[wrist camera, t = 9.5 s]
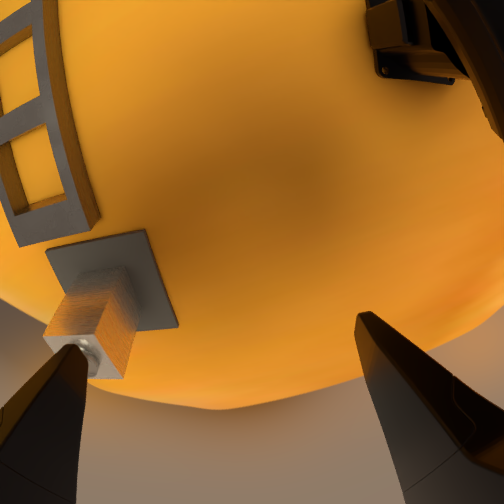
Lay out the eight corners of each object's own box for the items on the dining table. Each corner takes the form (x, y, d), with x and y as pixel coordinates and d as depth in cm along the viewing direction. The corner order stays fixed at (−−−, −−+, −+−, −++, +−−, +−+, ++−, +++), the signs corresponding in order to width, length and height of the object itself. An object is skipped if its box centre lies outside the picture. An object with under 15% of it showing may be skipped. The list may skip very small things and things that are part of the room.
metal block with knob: (124, 265, 21) (90, 342, 14) (142, 308, 23) (121, 386, 16) (79, 272, 21) (39, 343, 14) (99, 313, 23) (71, 384, 16)
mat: (144, 229, 20) (143, 231, 19) (178, 324, 24) (178, 327, 24) (47, 249, 20) (44, 251, 20) (90, 331, 25) (88, 334, 24)
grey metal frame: (59, -71, 7) (47, -79, 5) (100, 217, 19) (90, 230, 17) (-11, -26, 7) (-25, -29, 5) (31, 234, 19) (19, 247, 17)
